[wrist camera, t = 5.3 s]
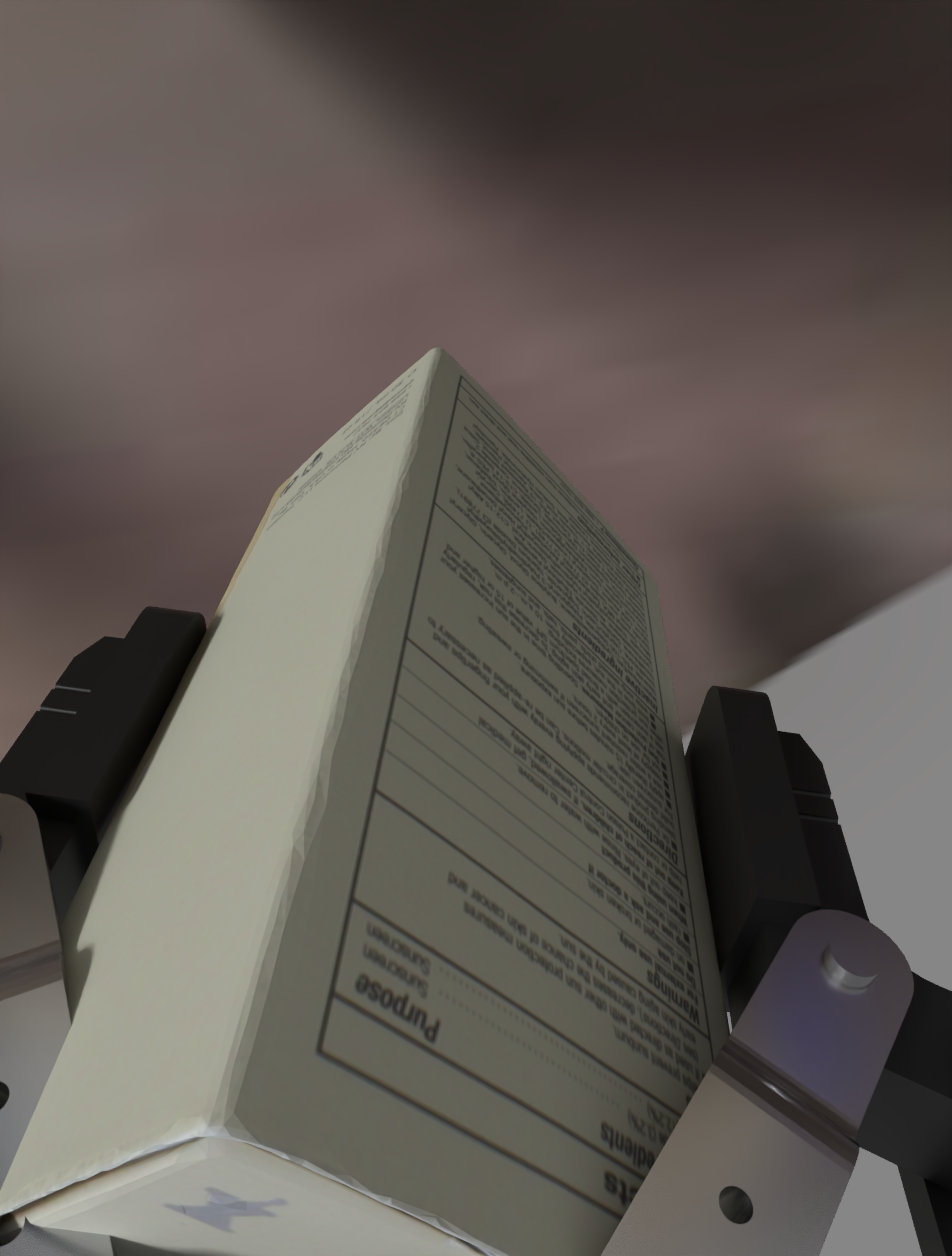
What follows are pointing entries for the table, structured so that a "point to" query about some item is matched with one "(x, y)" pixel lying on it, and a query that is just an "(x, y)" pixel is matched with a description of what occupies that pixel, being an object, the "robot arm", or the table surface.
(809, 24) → the table surface
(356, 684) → the skincare box
